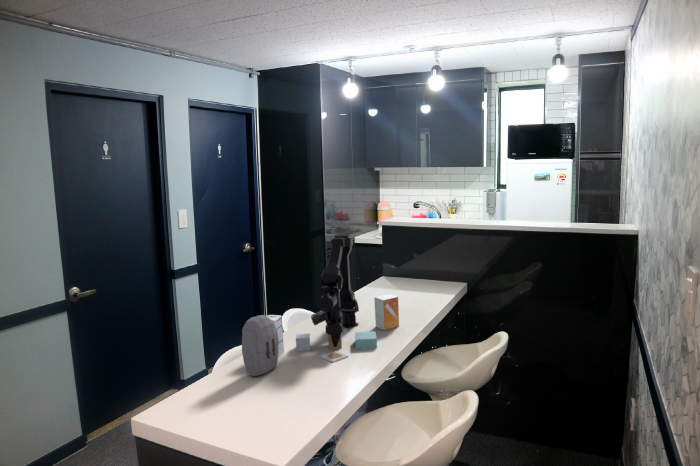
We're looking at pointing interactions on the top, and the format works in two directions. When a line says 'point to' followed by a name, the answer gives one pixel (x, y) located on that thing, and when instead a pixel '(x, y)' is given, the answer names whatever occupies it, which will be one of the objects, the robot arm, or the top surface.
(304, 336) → the grey cube
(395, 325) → the small box
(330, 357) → the tile
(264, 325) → the soft grey pack
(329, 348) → the walnut cube
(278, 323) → the syrup box
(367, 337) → the teal base block
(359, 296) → the top surface
